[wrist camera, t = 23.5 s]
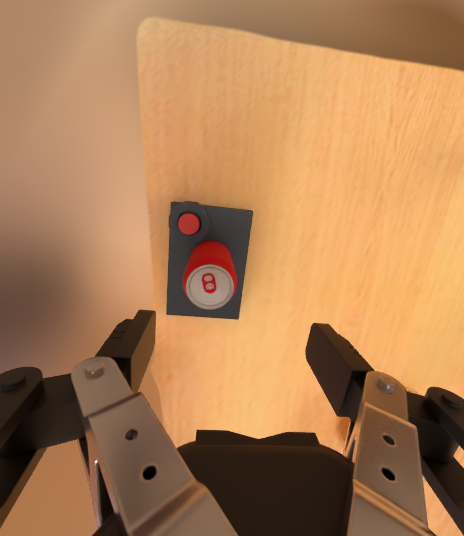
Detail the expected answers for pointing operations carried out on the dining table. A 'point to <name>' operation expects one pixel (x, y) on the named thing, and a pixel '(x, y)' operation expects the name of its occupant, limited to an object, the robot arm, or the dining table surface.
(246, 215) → the grey plate red button
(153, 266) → the dining table surface
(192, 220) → the button
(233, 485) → the robot arm
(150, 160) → the dining table surface
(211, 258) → the beverage can
